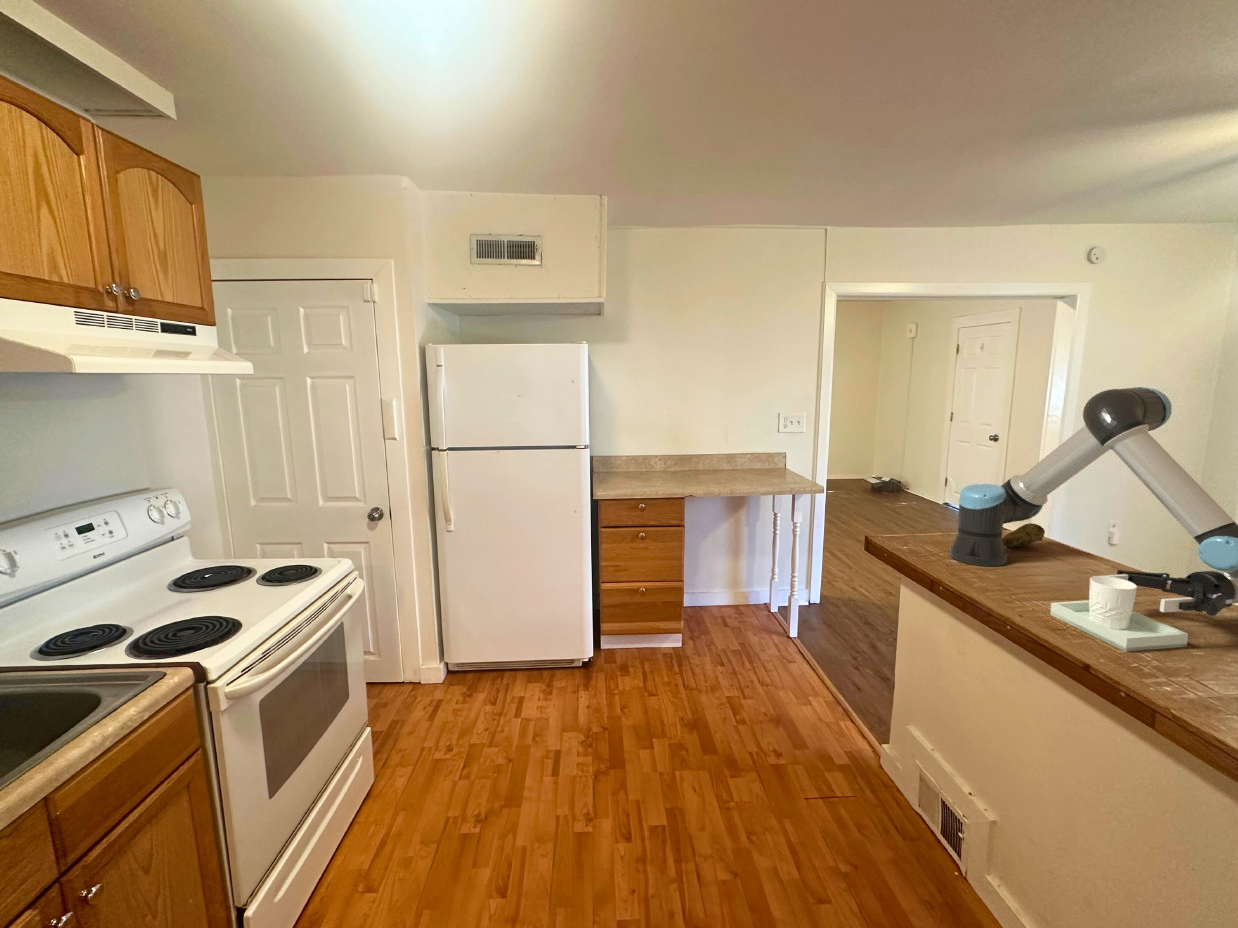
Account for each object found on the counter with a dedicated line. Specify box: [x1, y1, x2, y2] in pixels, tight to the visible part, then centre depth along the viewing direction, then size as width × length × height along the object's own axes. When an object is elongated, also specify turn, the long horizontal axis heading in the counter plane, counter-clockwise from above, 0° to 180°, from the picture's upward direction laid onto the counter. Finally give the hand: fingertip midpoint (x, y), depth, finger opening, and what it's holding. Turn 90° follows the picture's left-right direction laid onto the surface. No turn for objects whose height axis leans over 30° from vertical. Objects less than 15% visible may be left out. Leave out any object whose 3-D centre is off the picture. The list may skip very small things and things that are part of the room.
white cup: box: [1088, 575, 1138, 629], centre depth 120 cm, size 8×8×10 cm
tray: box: [1049, 599, 1189, 653], centre depth 120 cm, size 18×14×3 cm
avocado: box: [1002, 522, 1046, 549], centre depth 176 cm, size 8×13×8 cm, turn 76°
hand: (1129, 593), depth 118 cm, fingers open, 13 cm apart
